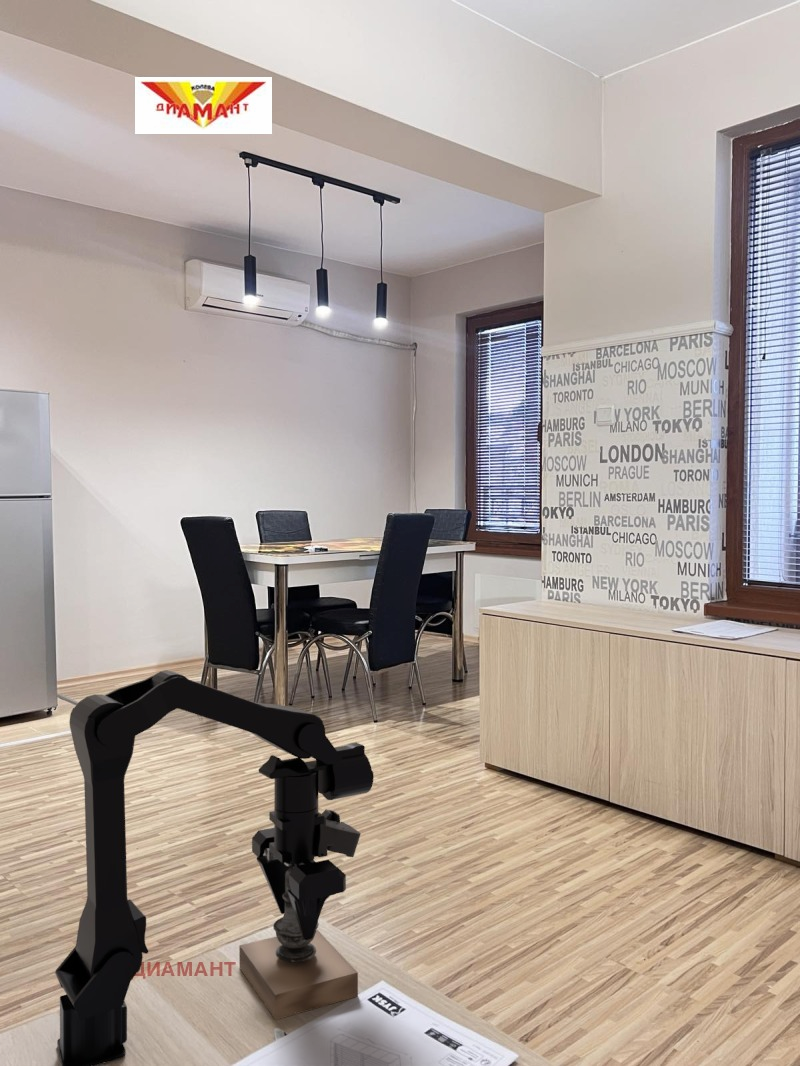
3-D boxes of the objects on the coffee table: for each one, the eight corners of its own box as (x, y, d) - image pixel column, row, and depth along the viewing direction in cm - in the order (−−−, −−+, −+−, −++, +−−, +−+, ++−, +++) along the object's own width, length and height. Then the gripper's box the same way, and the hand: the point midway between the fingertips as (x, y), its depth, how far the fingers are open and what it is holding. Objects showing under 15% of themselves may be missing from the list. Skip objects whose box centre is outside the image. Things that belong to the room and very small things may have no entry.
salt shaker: (266, 960, 109) (267, 866, 109) (281, 939, 115) (282, 850, 115) (310, 965, 108) (311, 870, 108) (323, 943, 114) (324, 853, 114)
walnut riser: (275, 1019, 103) (275, 994, 103) (239, 967, 115) (239, 945, 115) (357, 996, 108) (357, 972, 108) (315, 948, 120) (315, 927, 120)
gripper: (383, 817, 107) (383, 942, 107) (325, 779, 124) (324, 887, 124) (300, 832, 102) (300, 963, 102) (250, 790, 118) (250, 903, 118)
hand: (296, 925), depth 111 cm, fingers closed on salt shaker, 8 cm apart
